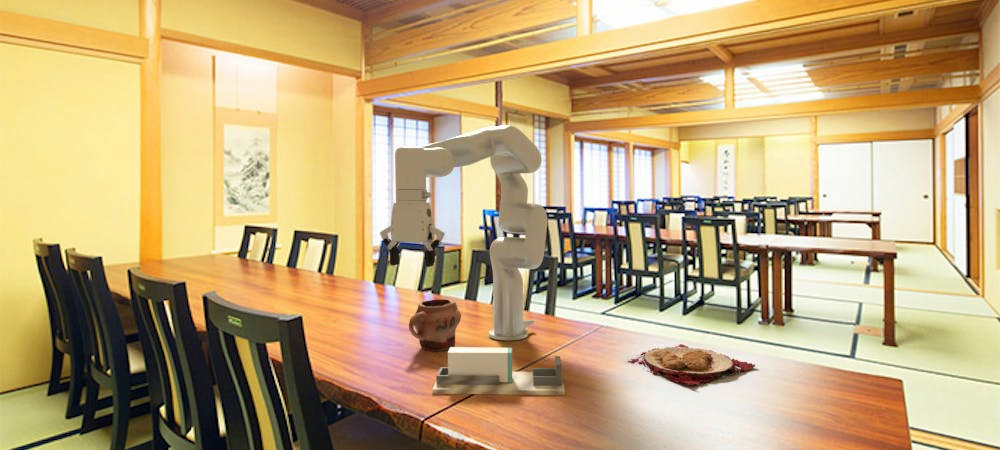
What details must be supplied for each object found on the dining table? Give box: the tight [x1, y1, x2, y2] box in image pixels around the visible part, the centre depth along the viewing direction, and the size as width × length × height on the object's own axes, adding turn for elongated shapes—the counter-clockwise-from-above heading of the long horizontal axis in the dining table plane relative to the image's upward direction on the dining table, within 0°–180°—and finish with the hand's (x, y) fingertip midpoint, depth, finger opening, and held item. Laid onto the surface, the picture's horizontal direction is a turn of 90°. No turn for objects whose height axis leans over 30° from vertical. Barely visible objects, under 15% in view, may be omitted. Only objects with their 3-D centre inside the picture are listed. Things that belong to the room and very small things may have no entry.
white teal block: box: [447, 346, 513, 382], centre depth 121 cm, size 15×4×7 cm, turn 87°
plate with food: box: [627, 343, 756, 386], centre depth 134 cm, size 24×26×4 cm
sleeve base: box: [432, 366, 566, 396], centre depth 121 cm, size 30×12×3 cm, turn 87°
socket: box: [532, 355, 563, 386], centre depth 120 cm, size 6×6×5 cm
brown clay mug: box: [408, 298, 462, 352], centre depth 149 cm, size 20×12×14 cm, turn 150°
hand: (412, 265), depth 127 cm, fingers open, 9 cm apart
